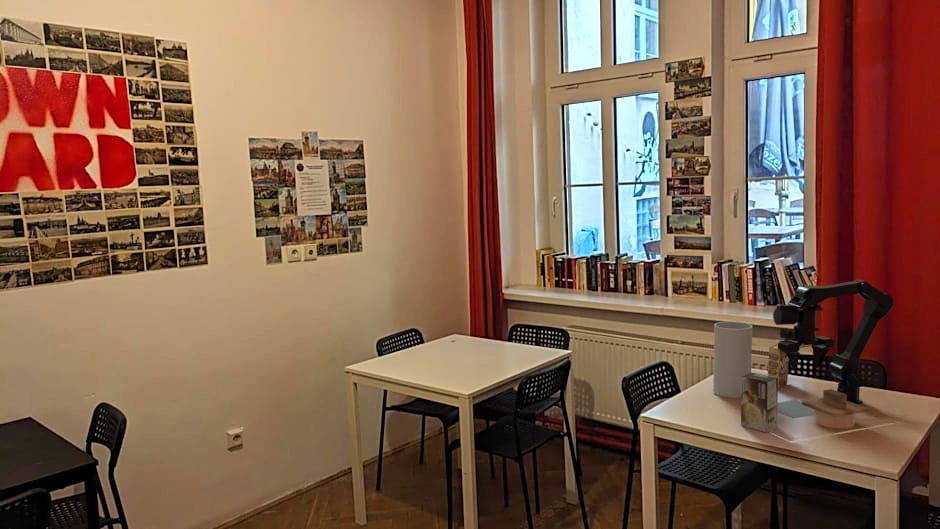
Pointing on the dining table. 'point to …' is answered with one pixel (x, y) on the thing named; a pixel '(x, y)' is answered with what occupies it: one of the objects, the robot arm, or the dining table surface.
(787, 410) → the rubber mat
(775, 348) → the candy box
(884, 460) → the dining table surface
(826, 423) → the terracotta bowl
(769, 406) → the coffee box
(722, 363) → the cylinder vase
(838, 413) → the walnut lid
